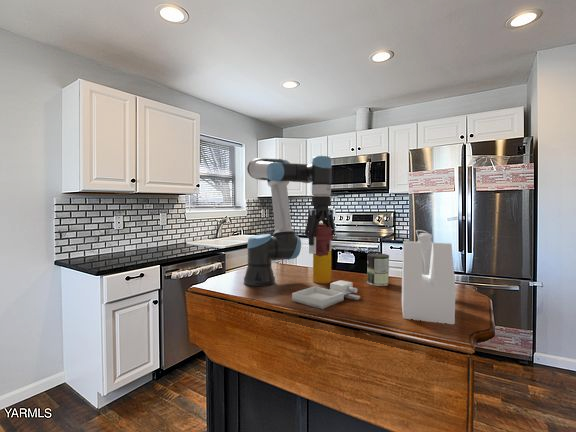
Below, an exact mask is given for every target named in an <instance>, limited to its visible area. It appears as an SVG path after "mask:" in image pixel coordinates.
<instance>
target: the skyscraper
mask: <svg viewBox="0 0 576 432" xmlns="http://www.w3.org/2000/svg"><path fill="white" fill-rule="evenodd" d="M418 232H420V233H418ZM415 233H416V236H417V242H421V256H422V275H429V269H430V260H431V250H432V242H433V240H432V238H433V234H431V233H429V232H428V231H425V230H423V229H416V230H415Z"/></svg>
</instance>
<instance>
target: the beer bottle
mask: <svg viewBox="0 0 576 432" xmlns="http://www.w3.org/2000/svg"><path fill="white" fill-rule="evenodd" d="M332 248H333V246H332V245H331V251H329V252H328V255H324V256H321V257H319V256H317V255H314V254H312V282H313V283H315V284H321V285H322V284H323V285H324V284H325V285H326V284H330V283H332V251H333V250H332Z"/></svg>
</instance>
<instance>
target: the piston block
mask: <svg viewBox="0 0 576 432" xmlns="http://www.w3.org/2000/svg"><path fill="white" fill-rule="evenodd" d="M353 283H354V282H352V281H348V280H342V279H339V280H337V281H333V282H330V283H329V290H334V291H338V292H343V293H344V295H345V294H348V293H349V294H353V293H354V294H357V293H358V288H357V287H353V285H354V284H353Z"/></svg>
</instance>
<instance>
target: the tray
mask: <svg viewBox="0 0 576 432" xmlns="http://www.w3.org/2000/svg"><path fill="white" fill-rule="evenodd" d="M344 298H345V297H344V293H343V292H338V291H334V290H330V288H329V289H328V288H323V287H319V286H315V285H314V286H311V287H308V288H304V289H300V290H298V291H295V292H292V293H291V300H292V302H295V303H298V304H299V303H300V304H303V305H306V306H309V307H313V308H317V309H321V310H323V309H325V308H328V307H330V306H333V305H335V304H338V303H340V302H343V301H344Z"/></svg>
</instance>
